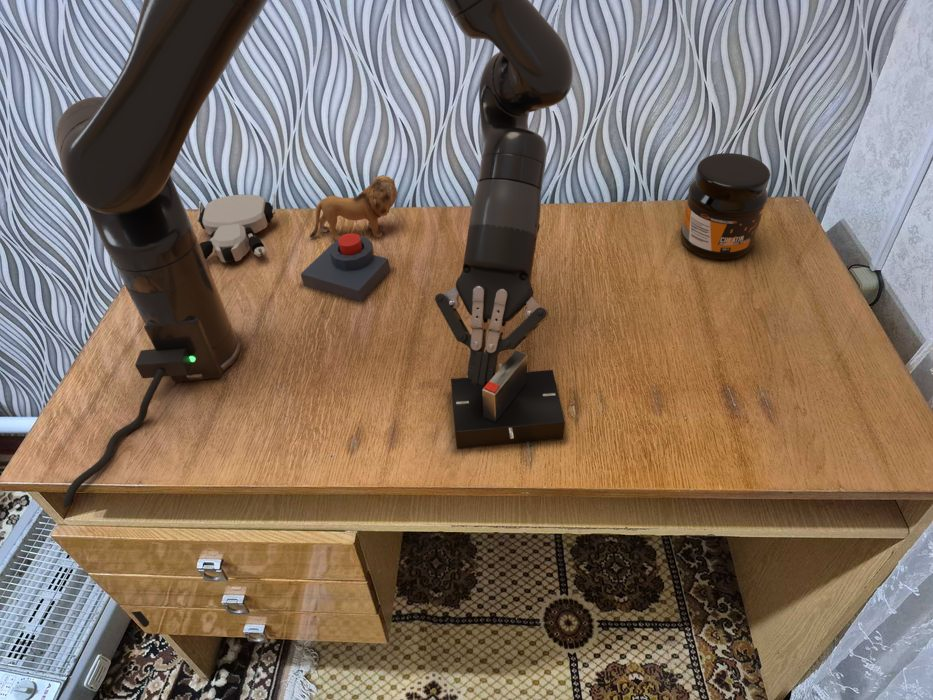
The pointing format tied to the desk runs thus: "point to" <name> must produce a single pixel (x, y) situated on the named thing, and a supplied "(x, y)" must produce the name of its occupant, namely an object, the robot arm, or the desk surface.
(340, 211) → the lion figurine
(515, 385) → the knob
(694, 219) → the supplement container
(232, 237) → the robot toy
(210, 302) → the robot arm
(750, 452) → the desk surface
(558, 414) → the panel
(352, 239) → the button
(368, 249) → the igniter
